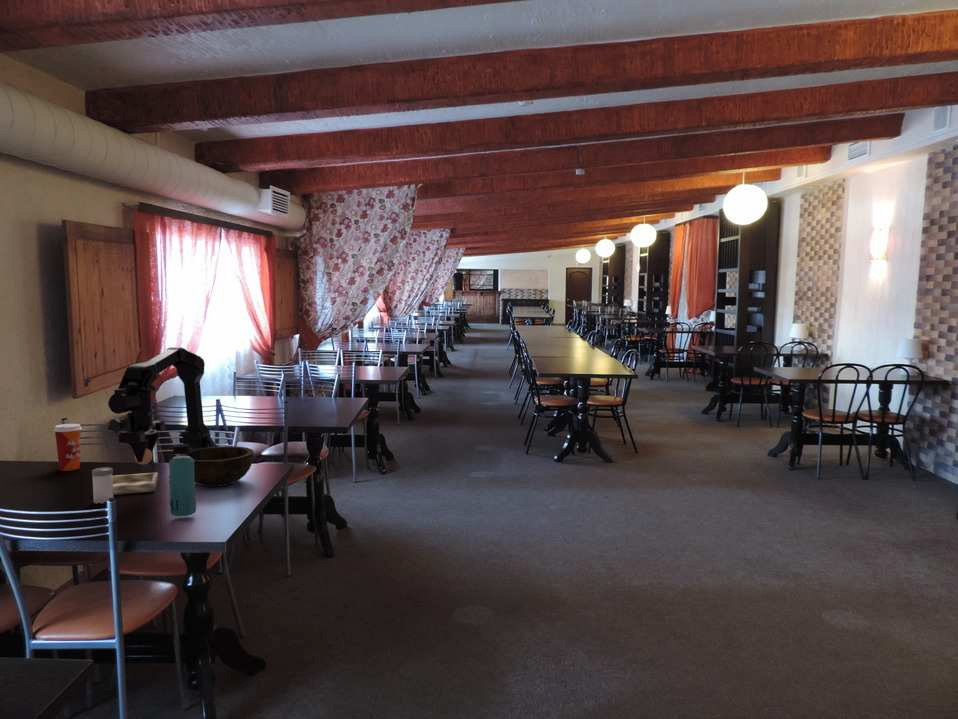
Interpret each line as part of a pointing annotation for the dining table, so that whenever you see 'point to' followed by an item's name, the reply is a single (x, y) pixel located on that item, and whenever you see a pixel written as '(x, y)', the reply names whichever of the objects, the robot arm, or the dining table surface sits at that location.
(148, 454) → the ball
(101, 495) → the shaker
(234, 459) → the bowl
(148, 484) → the tray
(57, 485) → the dining table surface
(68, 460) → the coffee cup
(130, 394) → the robot arm
